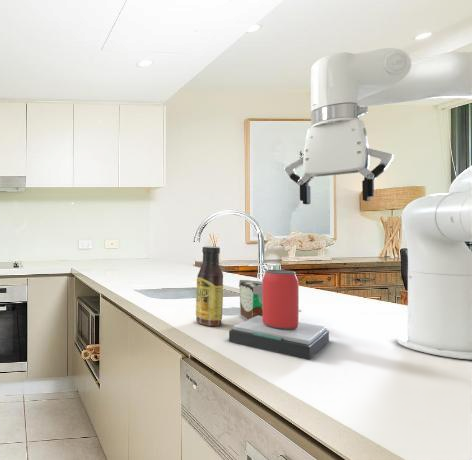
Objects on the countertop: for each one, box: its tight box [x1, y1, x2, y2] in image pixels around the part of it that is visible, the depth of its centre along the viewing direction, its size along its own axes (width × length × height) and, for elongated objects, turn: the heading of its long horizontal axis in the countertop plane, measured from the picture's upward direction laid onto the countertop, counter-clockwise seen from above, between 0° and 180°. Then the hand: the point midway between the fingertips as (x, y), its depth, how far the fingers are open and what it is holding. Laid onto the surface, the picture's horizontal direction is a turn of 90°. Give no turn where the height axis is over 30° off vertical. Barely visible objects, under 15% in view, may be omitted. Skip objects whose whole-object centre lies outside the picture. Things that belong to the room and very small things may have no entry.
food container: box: [238, 279, 263, 321], centre depth 95 cm, size 12×6×10 cm, turn 168°
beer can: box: [262, 269, 300, 330], centre depth 77 cm, size 7×7×12 cm
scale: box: [228, 316, 330, 360], centre depth 77 cm, size 17×14×3 cm
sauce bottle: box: [195, 245, 224, 327], centre depth 91 cm, size 6×6×20 cm
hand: (335, 202), depth 72 cm, fingers open, 9 cm apart
